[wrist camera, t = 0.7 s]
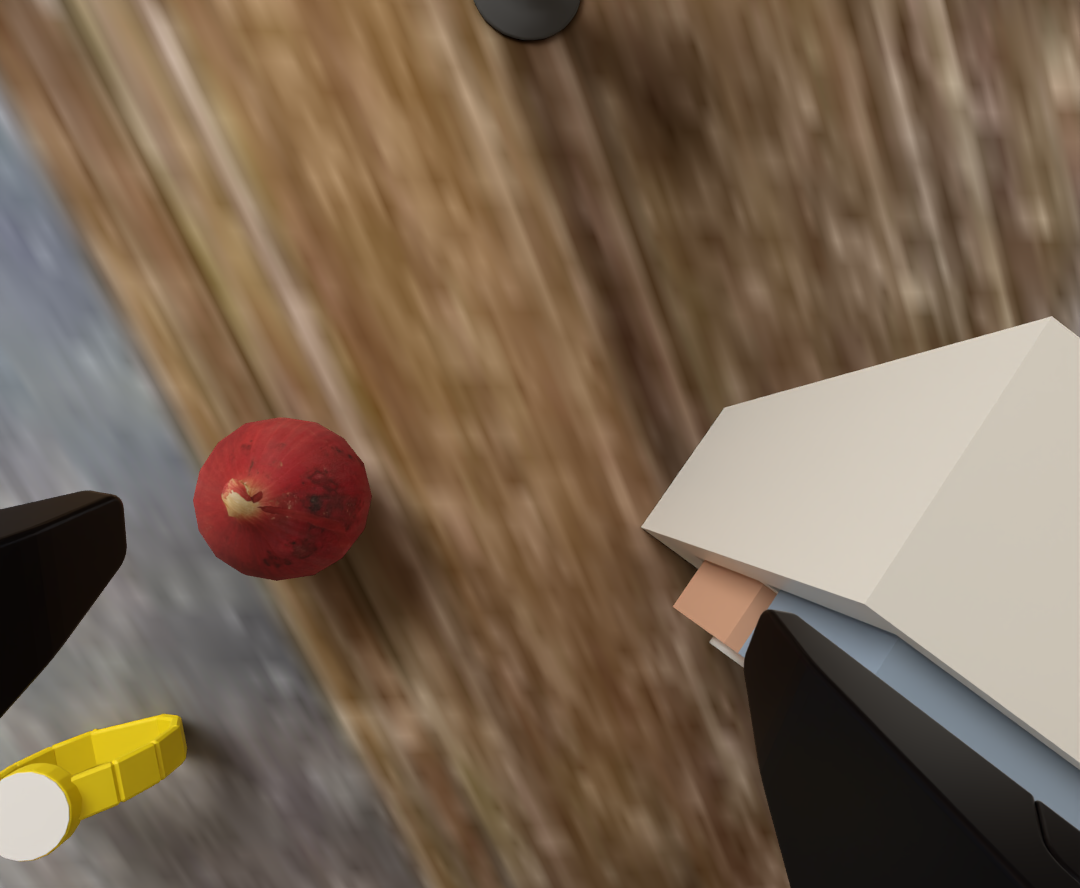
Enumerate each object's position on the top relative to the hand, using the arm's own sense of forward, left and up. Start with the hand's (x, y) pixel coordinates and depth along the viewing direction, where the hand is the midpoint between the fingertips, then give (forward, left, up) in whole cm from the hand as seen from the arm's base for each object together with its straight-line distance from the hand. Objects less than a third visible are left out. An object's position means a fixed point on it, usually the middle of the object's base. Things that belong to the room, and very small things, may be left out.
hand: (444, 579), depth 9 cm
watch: (-15, +7, -18) cm, 25 cm away
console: (+7, -12, -18) cm, 23 cm away
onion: (-3, +6, -18) cm, 20 cm away
